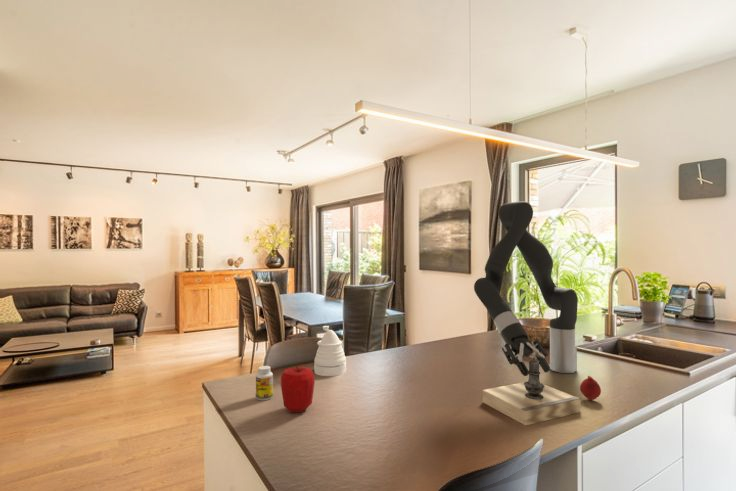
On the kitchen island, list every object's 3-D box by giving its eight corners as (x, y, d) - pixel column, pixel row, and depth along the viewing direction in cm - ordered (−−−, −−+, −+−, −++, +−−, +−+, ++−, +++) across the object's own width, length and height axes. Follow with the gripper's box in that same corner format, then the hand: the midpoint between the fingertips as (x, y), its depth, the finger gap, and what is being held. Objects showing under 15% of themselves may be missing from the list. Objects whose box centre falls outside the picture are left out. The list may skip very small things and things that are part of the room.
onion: (598, 398, 130) (598, 374, 130) (602, 404, 125) (602, 379, 125) (578, 396, 132) (578, 372, 132) (582, 402, 127) (581, 377, 127)
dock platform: (533, 391, 136) (533, 379, 136) (580, 412, 120) (580, 398, 120) (482, 402, 127) (482, 389, 127) (525, 425, 111) (525, 410, 111)
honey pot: (308, 374, 157) (308, 328, 157) (323, 364, 169) (323, 322, 169) (337, 377, 152) (337, 331, 152) (351, 368, 164) (351, 324, 164)
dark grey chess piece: (546, 400, 118) (546, 360, 118) (525, 399, 120) (525, 359, 120) (542, 393, 124) (542, 355, 124) (522, 392, 125) (522, 354, 125)
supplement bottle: (252, 400, 130) (252, 369, 130) (261, 394, 136) (261, 364, 136) (267, 402, 129) (267, 370, 129) (276, 395, 134) (275, 365, 134)
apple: (298, 419, 115) (298, 373, 115) (273, 412, 121) (273, 367, 121) (321, 407, 124) (321, 364, 124) (297, 400, 130) (296, 359, 130)
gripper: (498, 323, 126) (526, 369, 116) (532, 320, 132) (561, 363, 121) (487, 336, 131) (513, 382, 120) (520, 332, 137) (547, 375, 126)
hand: (537, 372), depth 121 cm, fingers open, 8 cm apart
